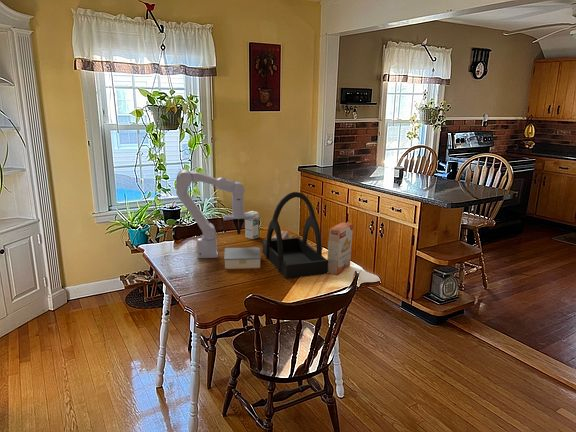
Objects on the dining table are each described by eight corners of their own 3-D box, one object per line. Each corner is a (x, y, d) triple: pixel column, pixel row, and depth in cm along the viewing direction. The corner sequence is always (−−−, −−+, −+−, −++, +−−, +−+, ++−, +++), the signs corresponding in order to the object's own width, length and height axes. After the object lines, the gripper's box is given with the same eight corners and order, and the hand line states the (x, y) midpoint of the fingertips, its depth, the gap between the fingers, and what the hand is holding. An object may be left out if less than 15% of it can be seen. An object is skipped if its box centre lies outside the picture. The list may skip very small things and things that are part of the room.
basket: (261, 253, 219) (261, 185, 210) (299, 249, 226) (301, 183, 217) (284, 279, 187) (286, 201, 178) (328, 274, 194) (332, 198, 185)
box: (225, 269, 197) (224, 259, 196) (225, 257, 211) (225, 249, 209) (260, 268, 199) (260, 259, 197) (258, 257, 212) (258, 248, 211)
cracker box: (338, 275, 192) (340, 230, 187) (326, 272, 195) (328, 228, 190) (351, 266, 204) (353, 223, 198) (339, 263, 207) (341, 221, 201)
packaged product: (274, 228, 245) (291, 230, 243) (274, 236, 246) (291, 238, 244) (265, 238, 228) (284, 239, 226) (265, 246, 229) (284, 248, 227)
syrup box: (252, 239, 239) (252, 214, 235) (244, 237, 242) (244, 212, 239) (259, 237, 243) (259, 212, 240) (251, 235, 247) (251, 210, 243)
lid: (224, 260, 195) (224, 258, 195) (224, 249, 209) (224, 248, 209) (261, 259, 197) (261, 258, 197) (259, 248, 211) (259, 247, 211)
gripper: (252, 204, 215) (253, 230, 219) (223, 205, 214) (224, 231, 217) (253, 208, 209) (253, 234, 212) (222, 208, 207) (224, 235, 211)
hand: (238, 233), depth 214 cm, fingers closed
